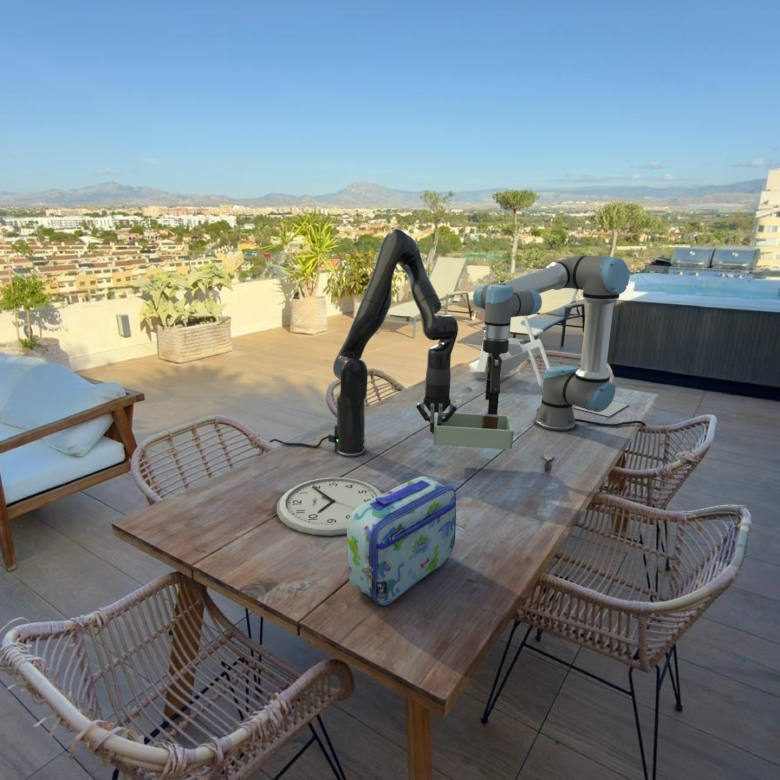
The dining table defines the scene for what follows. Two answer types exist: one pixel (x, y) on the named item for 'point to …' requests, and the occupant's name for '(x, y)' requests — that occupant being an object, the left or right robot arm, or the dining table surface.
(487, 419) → the walnut block
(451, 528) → the lunch box
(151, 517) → the dining table surface
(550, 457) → the fork
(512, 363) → the white plastic object
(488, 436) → the tote
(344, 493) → the wall clock
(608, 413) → the invitation card
